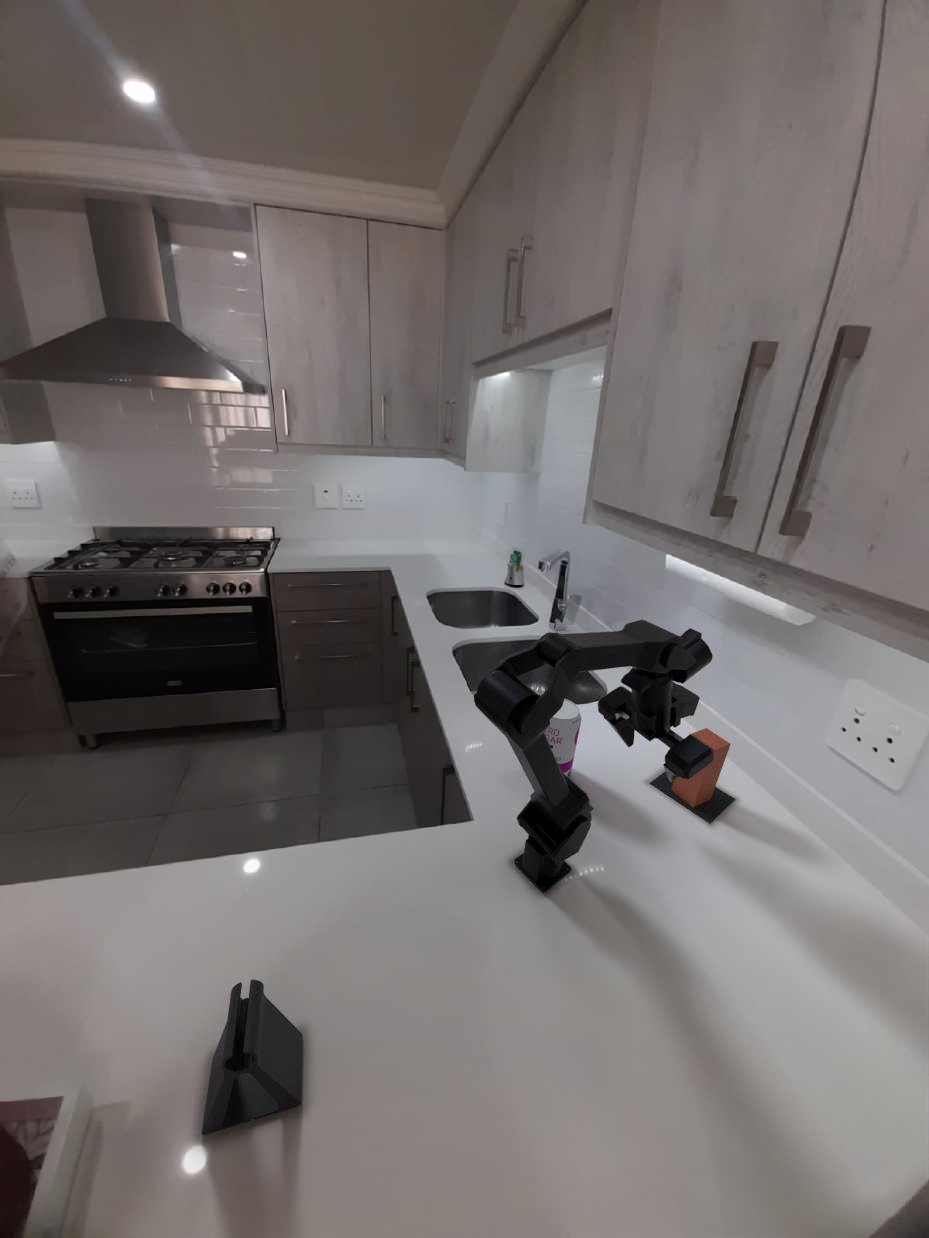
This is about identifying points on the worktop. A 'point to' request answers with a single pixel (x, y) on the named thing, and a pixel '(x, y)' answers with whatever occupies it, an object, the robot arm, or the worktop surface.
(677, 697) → the robot arm
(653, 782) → the mat
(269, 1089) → the phone stand
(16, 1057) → the worktop surface
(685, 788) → the terracotta block
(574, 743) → the supplement can
